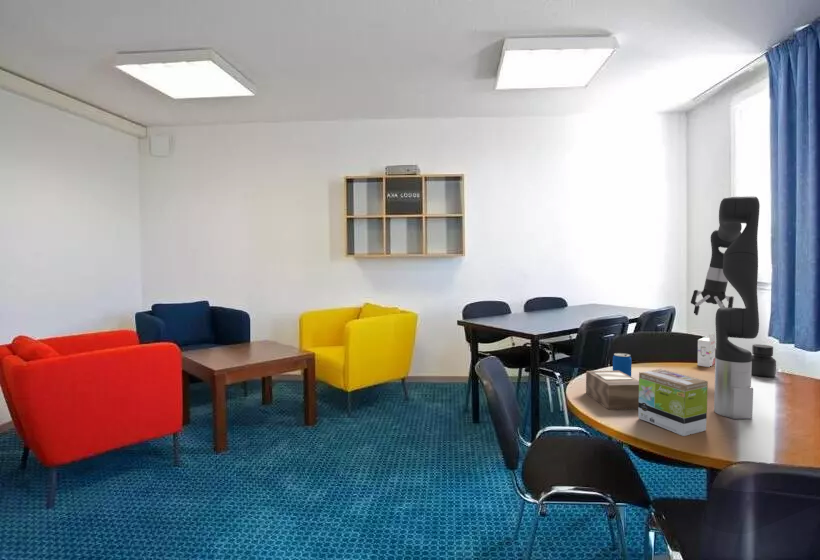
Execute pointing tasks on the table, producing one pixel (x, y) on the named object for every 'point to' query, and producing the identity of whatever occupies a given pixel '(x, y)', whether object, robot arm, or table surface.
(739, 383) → the robot arm
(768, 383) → the table surface
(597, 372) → the walnut box
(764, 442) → the table surface
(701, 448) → the table surface
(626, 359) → the beverage can
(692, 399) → the tea box
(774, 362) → the ink bottle
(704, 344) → the ink cartridge box
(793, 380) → the table surface
